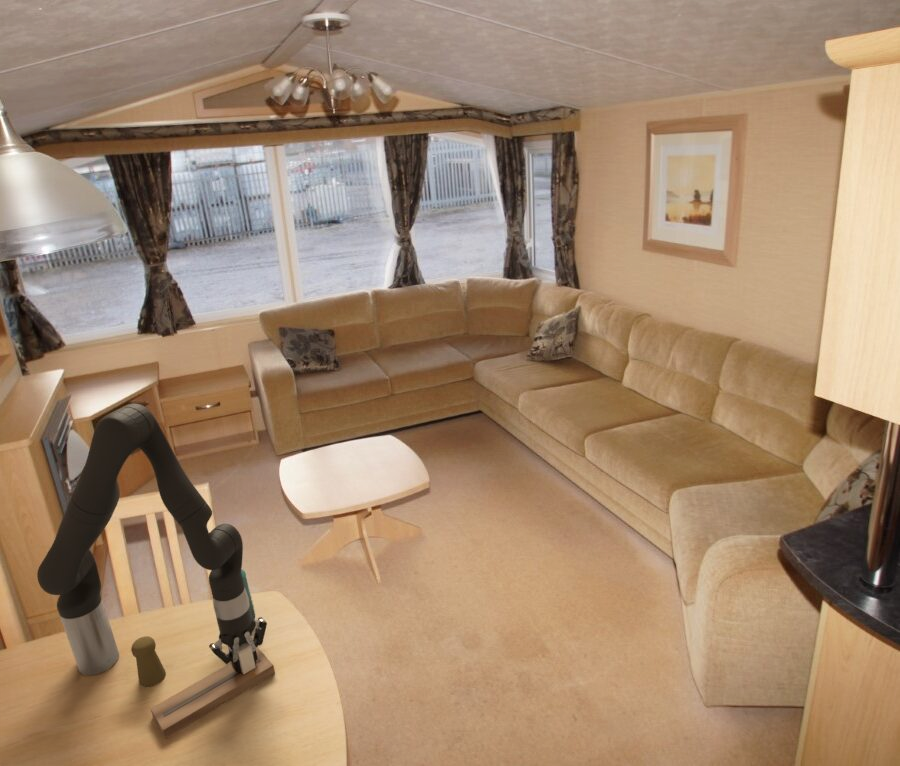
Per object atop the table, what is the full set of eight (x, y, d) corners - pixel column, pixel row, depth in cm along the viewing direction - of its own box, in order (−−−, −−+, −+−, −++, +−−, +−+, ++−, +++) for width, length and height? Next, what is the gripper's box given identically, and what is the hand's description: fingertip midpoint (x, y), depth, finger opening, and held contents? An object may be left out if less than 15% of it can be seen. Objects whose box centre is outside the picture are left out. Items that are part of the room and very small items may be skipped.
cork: (156, 688, 160) (145, 652, 156) (133, 686, 162) (122, 649, 158) (171, 669, 166) (160, 633, 162) (148, 666, 167) (138, 631, 163)
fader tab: (235, 665, 162) (230, 643, 159) (248, 658, 164) (243, 636, 161) (243, 674, 159) (238, 652, 156) (256, 667, 161) (251, 645, 158)
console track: (152, 716, 153) (150, 708, 152) (259, 655, 168) (257, 647, 167) (165, 738, 147) (162, 729, 146) (275, 673, 162) (273, 664, 161)
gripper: (253, 585, 162) (265, 642, 168) (195, 614, 153) (210, 673, 160) (268, 600, 156) (280, 659, 163) (209, 631, 148) (224, 691, 154)
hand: (245, 665), depth 161 cm, fingers closed on fader tab, 3 cm apart
